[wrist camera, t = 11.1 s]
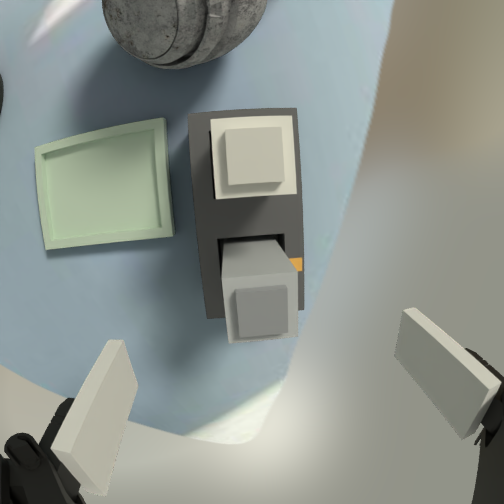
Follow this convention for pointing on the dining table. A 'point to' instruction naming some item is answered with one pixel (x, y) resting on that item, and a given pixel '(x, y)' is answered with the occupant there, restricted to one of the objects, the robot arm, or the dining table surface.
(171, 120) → the dining table surface
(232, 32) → the decorative orb
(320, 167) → the dining table surface
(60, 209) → the tray
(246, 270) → the plug
